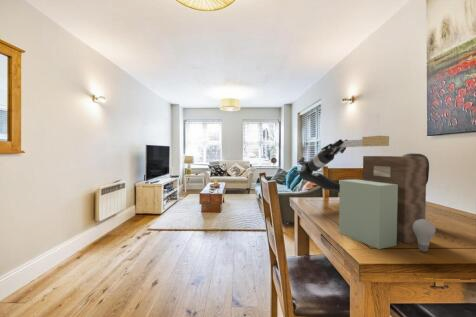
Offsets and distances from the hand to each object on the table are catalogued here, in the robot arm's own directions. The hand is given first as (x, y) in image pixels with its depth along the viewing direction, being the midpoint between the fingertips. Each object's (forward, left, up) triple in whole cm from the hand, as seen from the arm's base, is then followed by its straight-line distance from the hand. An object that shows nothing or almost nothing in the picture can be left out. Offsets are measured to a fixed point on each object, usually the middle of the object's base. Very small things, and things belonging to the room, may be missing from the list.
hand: (344, 141), depth 115 cm
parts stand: (-4, +22, -39) cm, 45 cm away
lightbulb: (+3, +38, -39) cm, 55 cm away
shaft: (0, +8, -3) cm, 9 cm away
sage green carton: (+11, +22, -39) cm, 46 cm away
